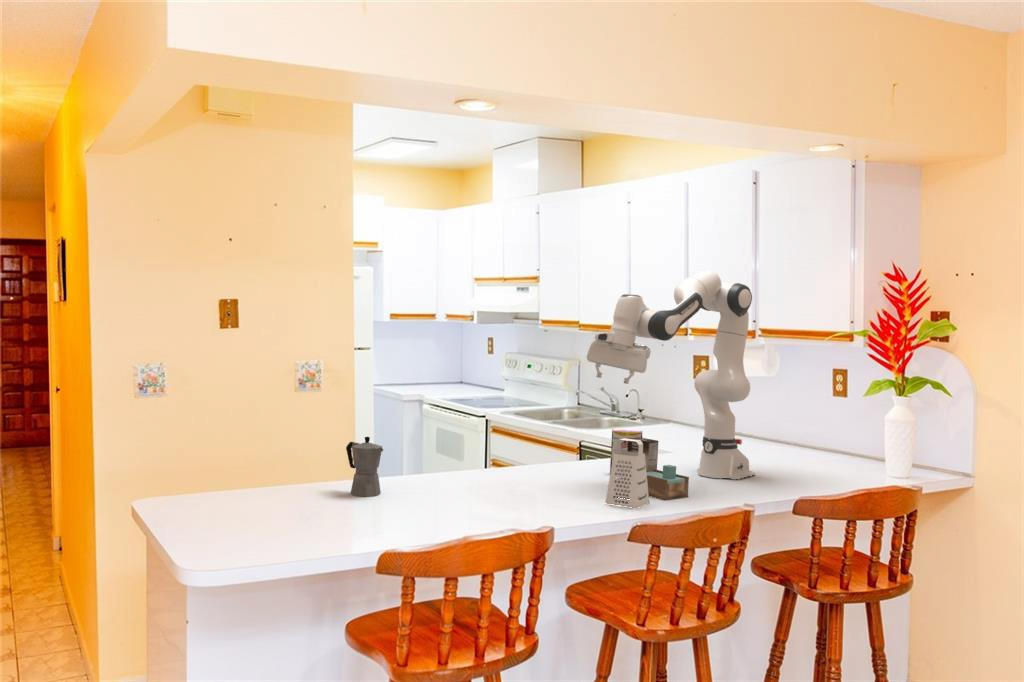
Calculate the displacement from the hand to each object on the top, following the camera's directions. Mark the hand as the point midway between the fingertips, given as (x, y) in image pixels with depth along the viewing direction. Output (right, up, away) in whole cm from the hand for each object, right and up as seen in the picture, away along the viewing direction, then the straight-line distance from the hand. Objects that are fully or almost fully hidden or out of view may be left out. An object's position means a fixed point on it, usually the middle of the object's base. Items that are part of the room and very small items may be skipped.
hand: (612, 380), depth 304 cm
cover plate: (+15, -32, -5) cm, 36 cm away
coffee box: (+11, -37, +9) cm, 39 cm away
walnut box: (+15, -37, -5) cm, 40 cm away
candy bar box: (+8, -36, +27) cm, 46 cm away
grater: (+2, -38, -22) cm, 43 cm away
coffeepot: (-80, -35, -20) cm, 90 cm away
